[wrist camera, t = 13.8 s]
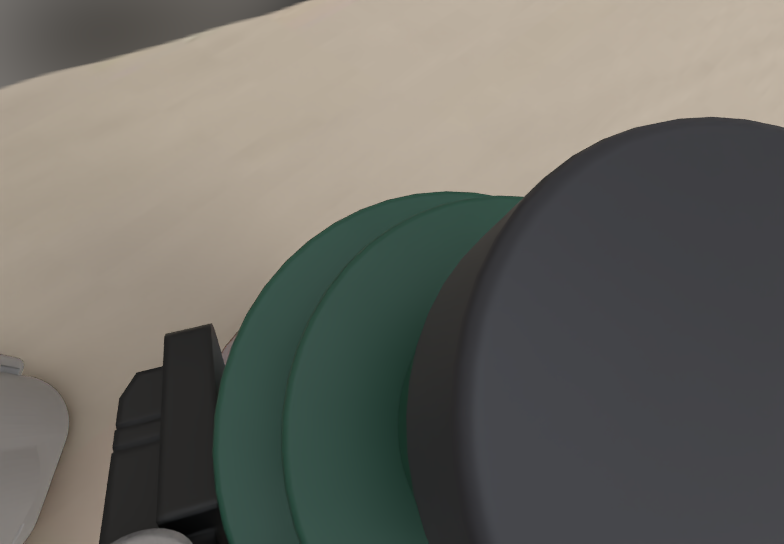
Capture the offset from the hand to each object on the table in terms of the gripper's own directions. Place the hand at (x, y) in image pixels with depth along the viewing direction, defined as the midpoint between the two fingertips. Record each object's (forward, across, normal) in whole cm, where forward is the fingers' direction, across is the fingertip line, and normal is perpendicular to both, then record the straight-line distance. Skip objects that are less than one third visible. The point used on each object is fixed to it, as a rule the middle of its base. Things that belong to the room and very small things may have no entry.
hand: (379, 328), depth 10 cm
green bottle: (+4, 0, +6) cm, 7 cm away
